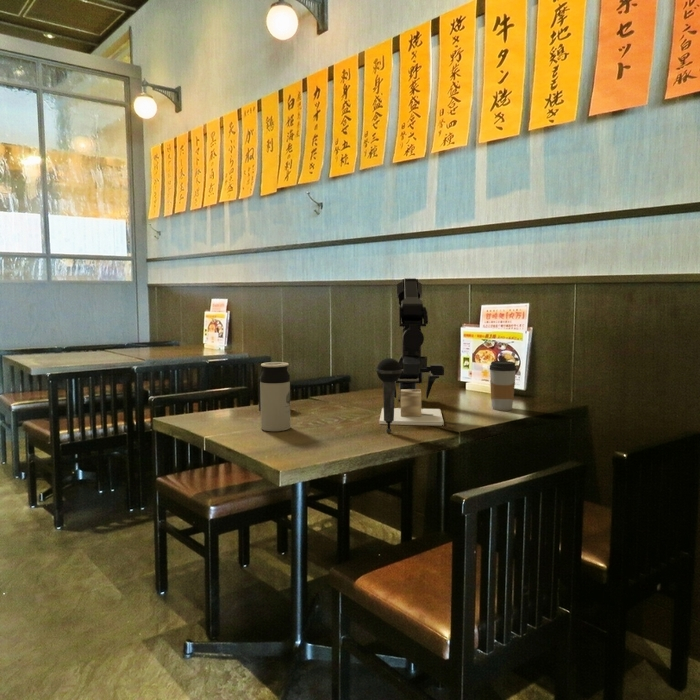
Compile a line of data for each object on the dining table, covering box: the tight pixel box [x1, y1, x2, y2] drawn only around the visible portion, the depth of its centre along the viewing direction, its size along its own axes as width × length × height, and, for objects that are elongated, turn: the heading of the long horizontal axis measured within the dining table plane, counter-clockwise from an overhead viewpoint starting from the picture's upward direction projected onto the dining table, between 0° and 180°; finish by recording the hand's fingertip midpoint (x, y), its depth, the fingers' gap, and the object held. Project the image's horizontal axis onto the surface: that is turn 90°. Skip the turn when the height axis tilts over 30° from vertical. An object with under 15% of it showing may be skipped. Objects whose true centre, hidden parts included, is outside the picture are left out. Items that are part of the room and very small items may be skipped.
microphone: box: [375, 357, 402, 434], centre depth 151 cm, size 7×7×20 cm
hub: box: [378, 407, 445, 426], centre depth 170 cm, size 18×18×6 cm
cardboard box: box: [400, 388, 422, 417], centre depth 170 cm, size 6×6×7 cm
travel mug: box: [259, 361, 291, 433], centre depth 156 cm, size 8×8×18 cm
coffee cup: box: [489, 360, 517, 412], centre depth 182 cm, size 8×8×15 cm
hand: (411, 398), depth 169 cm, fingers open, 9 cm apart
